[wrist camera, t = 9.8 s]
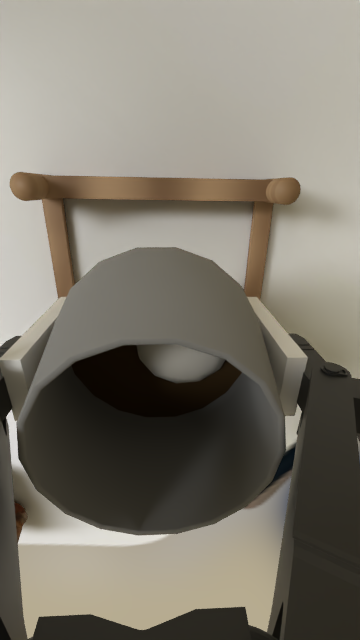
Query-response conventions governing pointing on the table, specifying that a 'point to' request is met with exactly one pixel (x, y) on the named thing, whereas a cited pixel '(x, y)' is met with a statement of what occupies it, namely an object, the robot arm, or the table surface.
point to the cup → (153, 398)
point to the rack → (154, 189)
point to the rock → (20, 518)
